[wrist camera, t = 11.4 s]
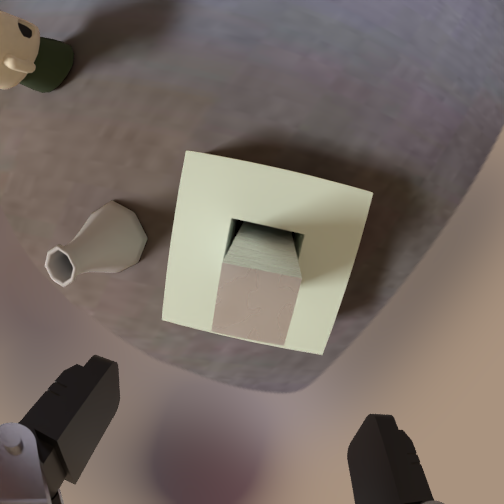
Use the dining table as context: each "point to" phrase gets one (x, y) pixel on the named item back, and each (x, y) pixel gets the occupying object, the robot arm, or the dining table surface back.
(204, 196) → the well block
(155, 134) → the dining table surface
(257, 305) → the rectangular block
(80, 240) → the flask
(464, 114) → the dining table surface
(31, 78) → the character mug
